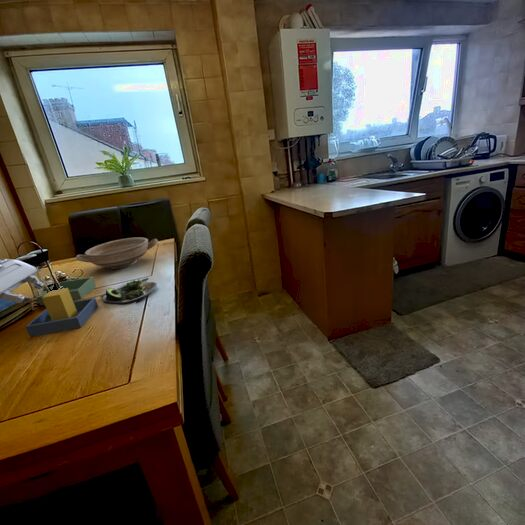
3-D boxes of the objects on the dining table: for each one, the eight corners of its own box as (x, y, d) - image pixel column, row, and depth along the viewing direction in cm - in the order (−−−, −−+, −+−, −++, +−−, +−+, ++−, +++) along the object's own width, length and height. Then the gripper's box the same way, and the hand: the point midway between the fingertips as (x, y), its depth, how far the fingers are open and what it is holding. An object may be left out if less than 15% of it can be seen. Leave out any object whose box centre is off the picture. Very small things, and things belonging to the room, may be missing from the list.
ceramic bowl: (158, 249, 160) (154, 232, 156) (164, 262, 135) (159, 242, 132) (86, 265, 146) (79, 247, 143) (77, 283, 122) (69, 262, 118)
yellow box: (54, 326, 85) (41, 297, 82) (62, 318, 90) (50, 290, 87) (71, 323, 86) (59, 294, 83) (78, 315, 91) (67, 287, 87)
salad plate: (133, 281, 116) (130, 271, 114) (168, 282, 110) (166, 272, 108) (94, 304, 99) (89, 293, 97) (133, 307, 93) (130, 295, 91)
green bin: (41, 307, 102) (36, 297, 101) (59, 292, 114) (56, 282, 113) (81, 300, 104) (77, 290, 102) (96, 286, 116) (92, 276, 114)
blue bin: (31, 339, 81) (25, 326, 80) (55, 316, 94) (50, 305, 92) (82, 329, 83) (77, 317, 81) (99, 308, 95) (95, 297, 94)
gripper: (3, 265, 89) (47, 287, 94) (-54, 292, 70) (5, 318, 75) (12, 250, 88) (56, 272, 93) (-44, 273, 69) (15, 300, 74)
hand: (33, 293), depth 84 cm, fingers open, 8 cm apart
